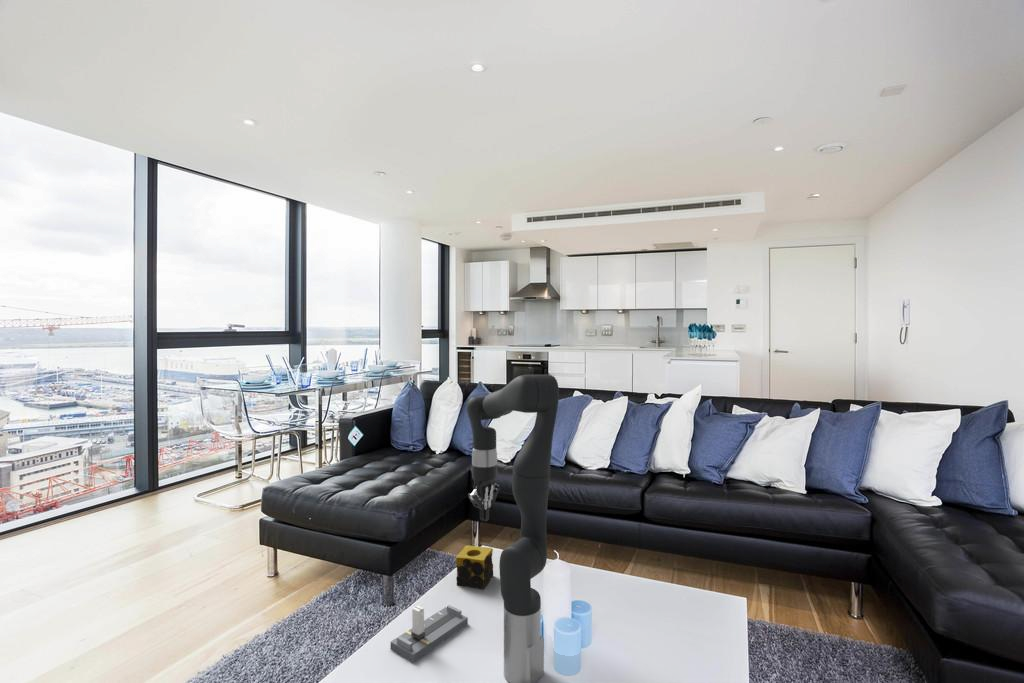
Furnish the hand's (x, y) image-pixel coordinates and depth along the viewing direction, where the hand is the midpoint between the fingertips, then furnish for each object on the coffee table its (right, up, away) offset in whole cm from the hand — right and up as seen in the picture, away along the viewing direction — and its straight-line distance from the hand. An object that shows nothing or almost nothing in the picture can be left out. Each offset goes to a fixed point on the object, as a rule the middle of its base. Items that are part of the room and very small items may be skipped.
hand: (484, 520), depth 151 cm
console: (-15, -29, -9) cm, 34 cm away
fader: (-17, -27, -13) cm, 35 cm away
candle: (-4, -29, +22) cm, 36 cm away
